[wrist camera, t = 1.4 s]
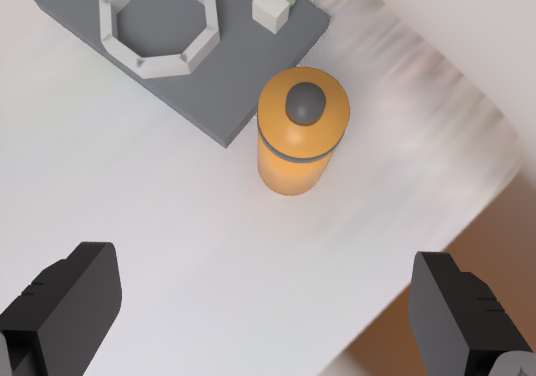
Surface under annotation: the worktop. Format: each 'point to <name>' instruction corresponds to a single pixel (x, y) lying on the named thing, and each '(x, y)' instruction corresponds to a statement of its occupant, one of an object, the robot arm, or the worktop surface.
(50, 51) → the worktop surface
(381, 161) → the worktop surface
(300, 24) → the board
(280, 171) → the orange bottle
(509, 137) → the worktop surface
